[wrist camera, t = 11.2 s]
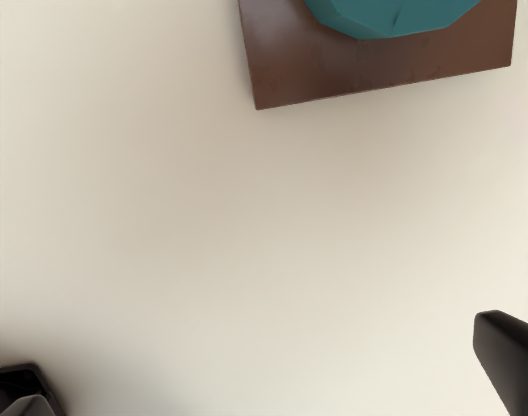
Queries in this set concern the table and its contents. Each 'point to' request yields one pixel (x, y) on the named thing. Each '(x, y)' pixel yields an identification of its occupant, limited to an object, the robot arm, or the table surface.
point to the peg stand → (363, 52)
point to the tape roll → (387, 16)
